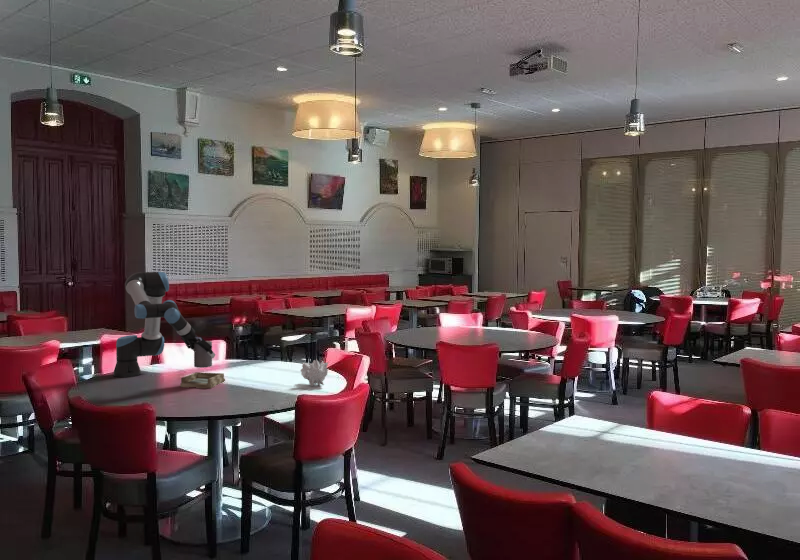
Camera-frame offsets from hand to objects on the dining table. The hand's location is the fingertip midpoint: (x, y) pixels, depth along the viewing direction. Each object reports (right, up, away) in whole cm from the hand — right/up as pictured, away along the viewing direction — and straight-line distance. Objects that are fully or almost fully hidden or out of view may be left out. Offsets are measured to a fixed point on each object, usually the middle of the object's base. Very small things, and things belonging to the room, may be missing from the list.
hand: (207, 355), depth 374 cm
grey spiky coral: (+60, -17, -3) cm, 62 cm away
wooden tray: (-2, -16, -2) cm, 16 cm away
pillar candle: (-2, -6, -3) cm, 6 cm away
